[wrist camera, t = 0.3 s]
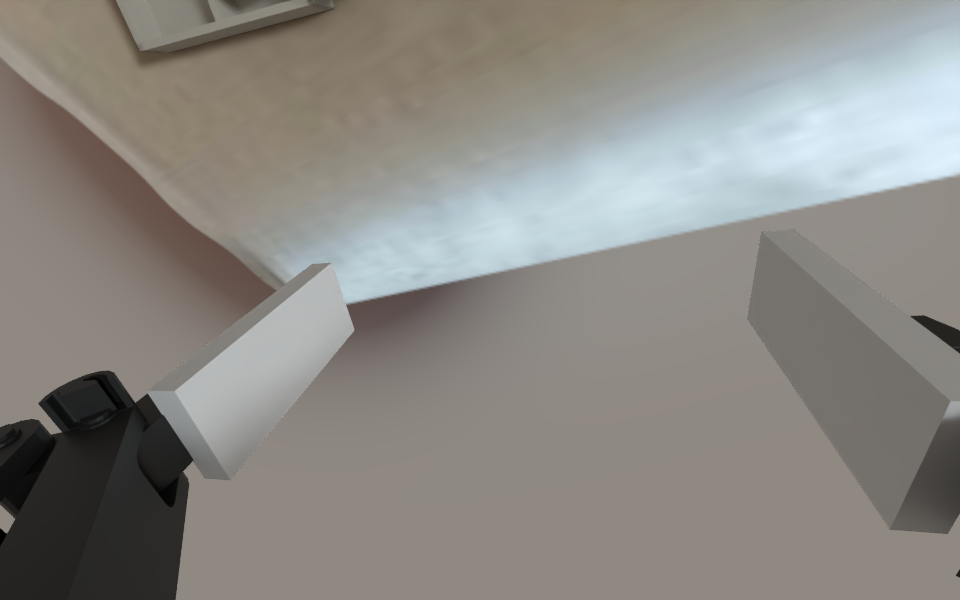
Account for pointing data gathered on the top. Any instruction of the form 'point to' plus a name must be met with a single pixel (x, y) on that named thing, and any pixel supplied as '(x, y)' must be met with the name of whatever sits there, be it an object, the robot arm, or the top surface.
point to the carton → (206, 19)
